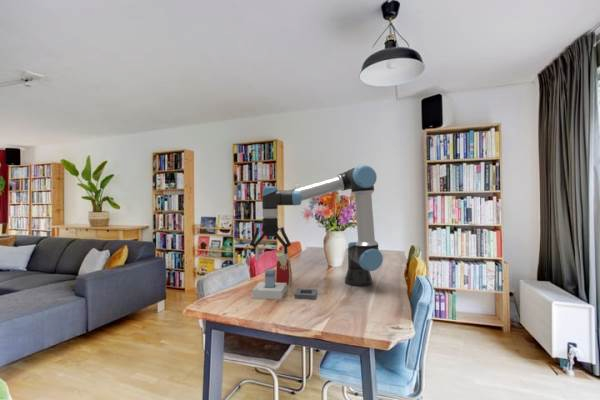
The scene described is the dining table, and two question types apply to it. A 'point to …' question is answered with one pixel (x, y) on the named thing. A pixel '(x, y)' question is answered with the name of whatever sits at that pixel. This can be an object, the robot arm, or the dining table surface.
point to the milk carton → (283, 269)
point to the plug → (270, 278)
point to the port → (269, 291)
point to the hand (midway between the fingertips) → (270, 260)
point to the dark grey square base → (306, 293)
